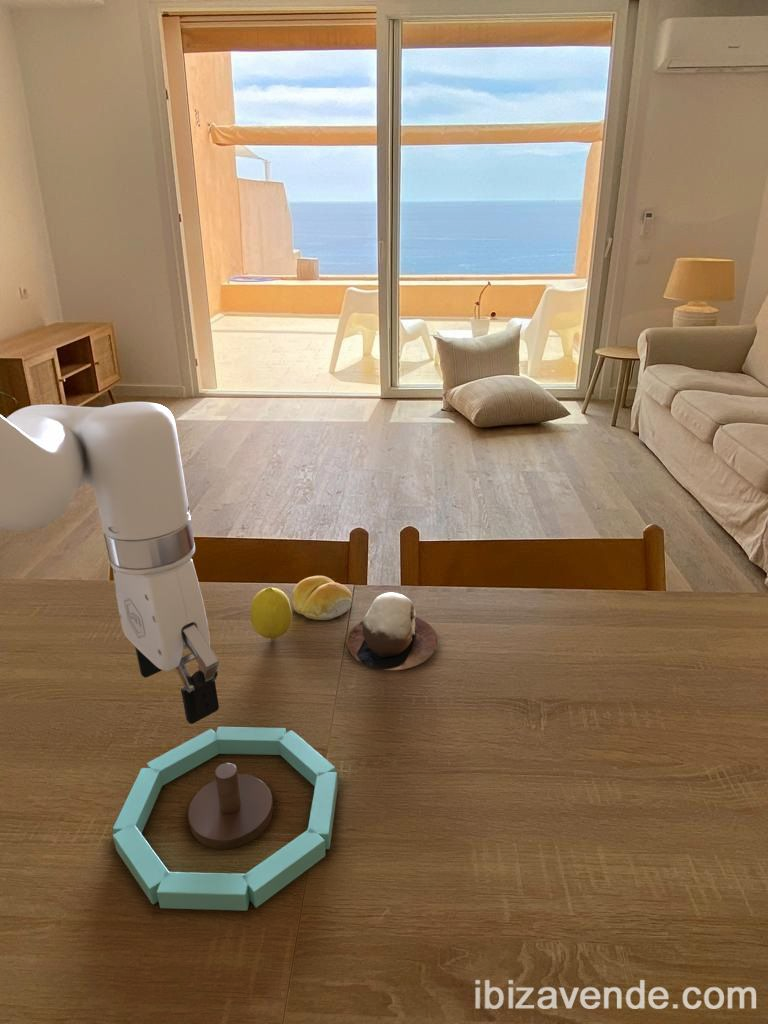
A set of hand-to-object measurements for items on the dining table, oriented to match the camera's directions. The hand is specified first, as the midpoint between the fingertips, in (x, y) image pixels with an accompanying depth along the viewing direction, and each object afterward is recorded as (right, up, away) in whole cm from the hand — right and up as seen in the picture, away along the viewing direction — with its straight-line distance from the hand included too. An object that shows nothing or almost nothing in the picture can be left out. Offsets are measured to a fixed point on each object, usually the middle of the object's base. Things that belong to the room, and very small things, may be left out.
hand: (179, 692), depth 70 cm
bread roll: (+12, +4, +32) cm, 35 cm away
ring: (+6, -11, -2) cm, 13 cm away
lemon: (+6, +1, +25) cm, 26 cm away
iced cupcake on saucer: (+22, 0, +24) cm, 32 cm away
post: (+6, -11, -2) cm, 13 cm away
